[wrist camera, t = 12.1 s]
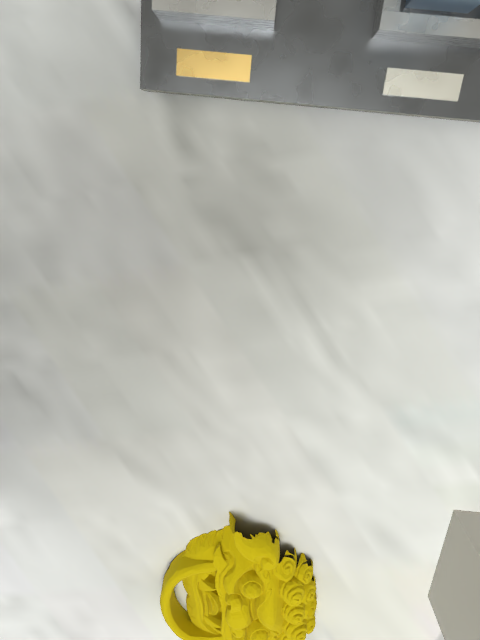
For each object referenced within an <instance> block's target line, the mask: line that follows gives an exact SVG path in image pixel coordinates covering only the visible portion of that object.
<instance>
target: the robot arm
mask: <svg viewBox="0 0 480 640" xmlns="http://www.w3.org/2000/svg"><path fill="white" fill-rule="evenodd" d="M428 598H429V600H430V603H431V605H432V608H433V611H434V613H435V616H436V618H437V621H438V624H439V626H440V629H441V631H442V634H443V637H444V639H445V640H480V512H472V511H461V510H453V514H452V517H451V520H450V524H449V527H448V530H447V534H446V537H445V540H444V544H443V547H442V550H441V554H440V557H439V560H438V564H437V567H436V570H435V573H434V577H433V580H432V583H431V587H430V590H429V593H428Z"/></svg>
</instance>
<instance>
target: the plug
mask: <svg viewBox="0 0 480 640" xmlns="http://www.w3.org/2000/svg"><path fill="white" fill-rule="evenodd" d="M478 5H480V0H406V3H405V8H412V9H423V10H434V11H446V12H457V13H469V12H470V11H472V10H473V9H474V8H476V7H477V6H478Z"/></svg>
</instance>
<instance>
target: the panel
mask: <svg viewBox="0 0 480 640" xmlns="http://www.w3.org/2000/svg"><path fill="white" fill-rule="evenodd" d="M405 3H406V0H141V76H140V89H142V90H143V91H149V92H160V93H171V94H182V95H192V96H203V97H214V98H224V99H235V100H246V101H256V102H267V103H278V104H289V105H299V106H310V107H321V108H331V109H342V110H353V111H364V112H374V113H385V114H396V115H406V116H417V117H428V118H438V119H449V120H460V121H471V122H480V5H478V6H477V7H476V8H474V9H473V10H472V11H470V12H469V13H457V12H446V11H434V10H423V9H412V8H405Z"/></svg>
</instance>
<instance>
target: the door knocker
mask: <svg viewBox="0 0 480 640" xmlns="http://www.w3.org/2000/svg"><path fill="white" fill-rule="evenodd" d="M229 515H230V519H229V523H230V525H229V526H225V527H224V528H223V529H222V530H220V531H219V530H218V531H216V530H214V531H211V532H209V533H208V534H207V533H205V534H201V535H200V536H197V537H195V538H194V539H192V540H190V542H189V543H188V545H187V547H186V550H185V551H183V552H181V553H180V554H179V555H177V556H176V558H175V559H174V560H173V561H172V562H171V563H170V567H169V570H167V572H166V574H165V576H164V580H163V585H162V591H161V597H160V605H161V611H162V614H163V616H164V619H165V621H166V623H167V624H168V626H169V627H170V628H171V629H172V631H173V632H174V633H175V634H176V635H177V636H178V637H180V638H181V639H183V640H305V638H306V633H307V634H309V633H311V632H312V631H313V629H314V627H315V616H314V615H315V610H316V605H317V601H316V593H315V591H316V586H315V585H316V583H315V578H314V581H312V580H311V579H312V576H313V567H312V566H313V563H312V560H311V563H312V566H308V564H307V563H306V564H303V563H305V562H306V561H307V560H306V558H305V555H304V554H303V553H302V554H301V556H300V559H299V562H298V566H297V568H296V564H297V555H296V550H295V548H294V551H295V556H294V555H293V554H291V553H289V552H288V551H287V550H286V552H285V555H292V556H293V557H294V559H295V560H293V559H292V558H289V557H283V559H282V561H281V562H280V563H279V557H280V545H279V540H278V539H279V534H278V532H277V531H276V529H275V532H276V536H277V537H278V539H277V538H275V543H272V542H271V541H272V538H271V535H270V533H269V531H268V532H267V533H266V534H265V533H261V532H259V534H258V535H257V534H255V535H256V537H253V536H252V535H251V534H250V536H251V538H252V539H246V538H245V537H243V536H242V534H241V533H239V532H237V531H236V532H235V523H236V519H235V518H234V516H233V515H232V514H231V513H230V512H229ZM302 564H303V565H302ZM181 580H182V581H183V585H184V588H185V590H186V592H187V593H188V594H187V598H186V603H187V611H188V612H187V611H186V610H185V609H183V607H182V606H181V605H180V603H179V602H178V600H177V598H176V596H175V593H174V587H175V586H176V585H177V584H178V583H179V582H180V581H181ZM191 621H192V622H191Z"/></svg>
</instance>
